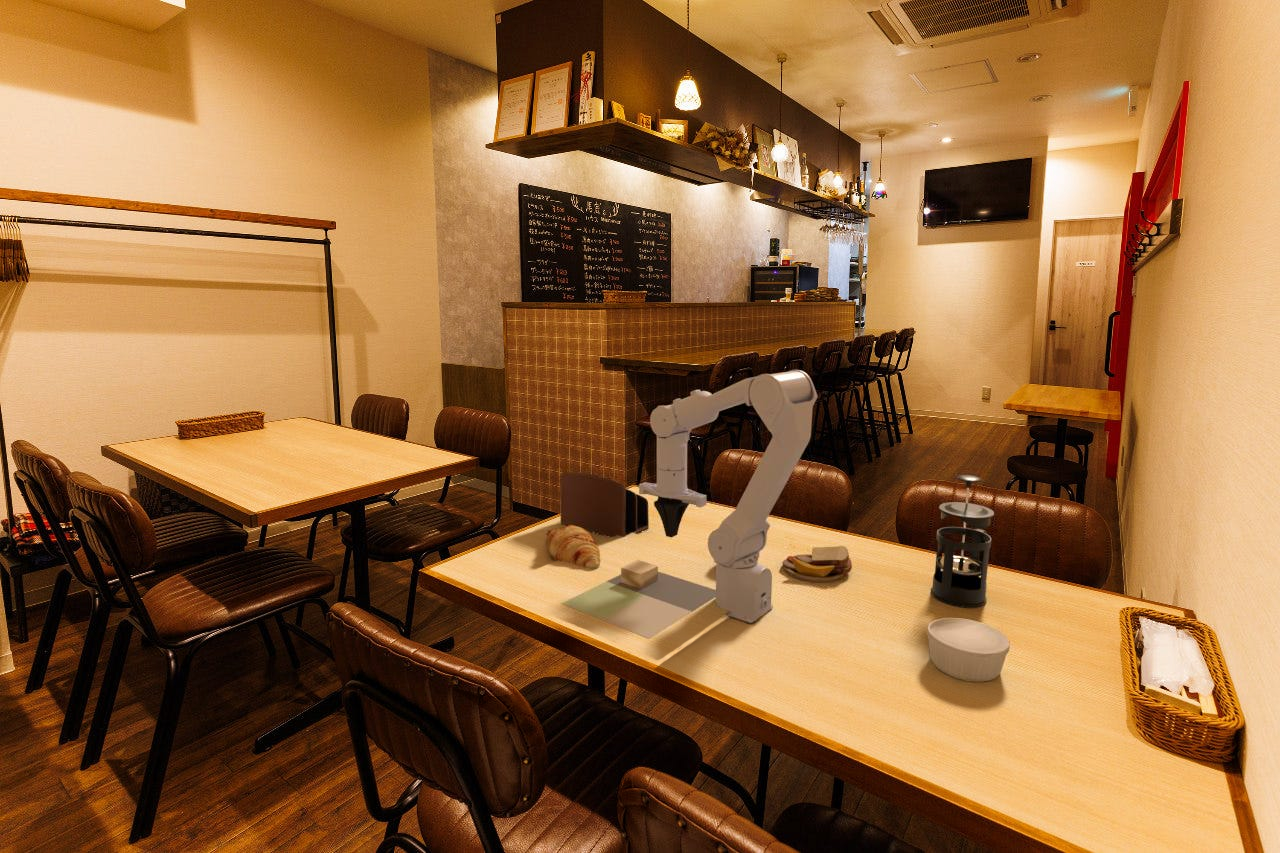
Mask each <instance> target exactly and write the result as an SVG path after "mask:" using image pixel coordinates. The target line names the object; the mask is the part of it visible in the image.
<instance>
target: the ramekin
mask: <svg viewBox="0 0 1280 853" xmlns="http://www.w3.org/2000/svg"><path fill="white" fill-rule="evenodd" d="M926 635H927V636H928V648H929V656H930V659H931V661H932V662H933V664H934V665H935V667H936V668H937V669H938V670H940V671H941V672H943V673H944V674H946V675H948V676H951V677H952V678H954V679H958V680H961V679H962V681H965V682H973V683H977V682H978V683H982V682H984V681H985V682H989V681H992V680H994V679H995V678H997V677H998V676H999V675H1000V674H1001V672H1002V670H1003V667H1004V664H1005V660H1006V657H1007V655H1008V654H1009V652H1010V644H1011V643H1010V641H1009V638H1008V637H1007V635H1005V634H1004V633H1003V632H1002V631H1000V630H999V629H997V628H995V627H993V626H991V625H989V624H987V623H983V622H980V621H977V620H973V619H968V618H960V617H942V618H939V619H938V618H937V619H935V620H933V621H930V622H929V624H928V625H927V628H926Z"/></svg>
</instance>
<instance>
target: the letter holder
mask: <svg viewBox="0 0 1280 853" xmlns="http://www.w3.org/2000/svg"><path fill="white" fill-rule="evenodd" d="M560 524H561V525H563V524H564V525H563V526H567V525H568V526H569V525H573V526H577V527H580V528H582V529H585V530H586V531H588V532H589V531H590V533H593V532H594V534H596V533H598V534H597V535H600V534H601V535H600V536H604V535H605V536H604V537H607V536H609V537H608V538H611V537H612V538H615V537H617V536H619V537H623V538H624V537H627V536H628V535H631V534H635V535H639V534H641V533H643V532H642V531H644V532H645V530H646V531H647V529H648V530H649V524H650V522H649V501H648V499H647V498H646V497H644V496H642V495H641V494H639V493H638V494H637V493H635V492H634V491H633V490H630V489H627V488H626V486H625V485H624V484H623V483H620V482H618V481H616V480H613V479H609V478H607V477H603V476H600V475H596V474H591V473H583V472H573V471H571V472H568V471H567V472H563V473H561V475H560ZM638 533H639V534H638Z"/></svg>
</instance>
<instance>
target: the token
mask: <svg viewBox="0 0 1280 853" xmlns="http://www.w3.org/2000/svg"><path fill="white" fill-rule="evenodd" d="M658 572H659V566H658V565H655V564H653V563H649V562H646V561H643V560H640V559H636V560H634V561H632V562H630V563H628V564H626V565H624V566H621V568H620V575H621V582H622V583H625V584H627V585H630V586H633V587H636V588H639V589H643V588H645V587H647V586H649V585H651V584H653V583H654V582H656V581H658Z"/></svg>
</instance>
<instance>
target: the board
mask: <svg viewBox="0 0 1280 853" xmlns="http://www.w3.org/2000/svg"><path fill="white" fill-rule="evenodd" d="M713 599H716V588H715V589H714V588H712V587H708V586H705V585H701V584H699V583H695V582H692V581H688V580H687V579H686V580H685V579H683V578H680V577H677V576H673V575H669V574H667V573H664V572H662V571H658V581H656V582H654V583H653V584H651V585H649V586H647V587H645V588H643V589H639V588H636V587H633V586H630V585H627V584H625V583H622V582H621V574H619V575H617V576H615V577H612V578H610V579H608V580H607V581H605V582H602V583H601V584H600V583H599V584H598V585H596V586H594V587H592V588H591V589H588V590H586V591H584V592H582V593H580V594H578V595H576V596H574V597H572V598H569V599H568V600H565V601H563V602H561V603H560V604H561V605H563V606H566V607H568V608H571V609H574V610H576V611H578V612H581V613H584V614H586V615H589V616H591V617H593V618H597V619H598V620H601V621H603V622H606V623H608V624H611V625H613V626H616V627H617V628H621V629H624V630H626V631H629V632H631V633H634V634H636V635H638V636H640V637H643V638H645V639H648V640H650V639H651V638H653V637H654V636H656V635H658V634H659V633H661V632H662V631H664V630H666V629H667V628H668V627H670V626H672V625H674V624H675V623H677V622H678V621H680V620H682V619H683V618H685V617H686V616H688V615H689V614H690V613H692V612H694V611H696V610H697V609H699V608H700V607H702V606H704V605H705V604H707V603H709V602H710V601H712V600H713Z"/></svg>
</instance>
